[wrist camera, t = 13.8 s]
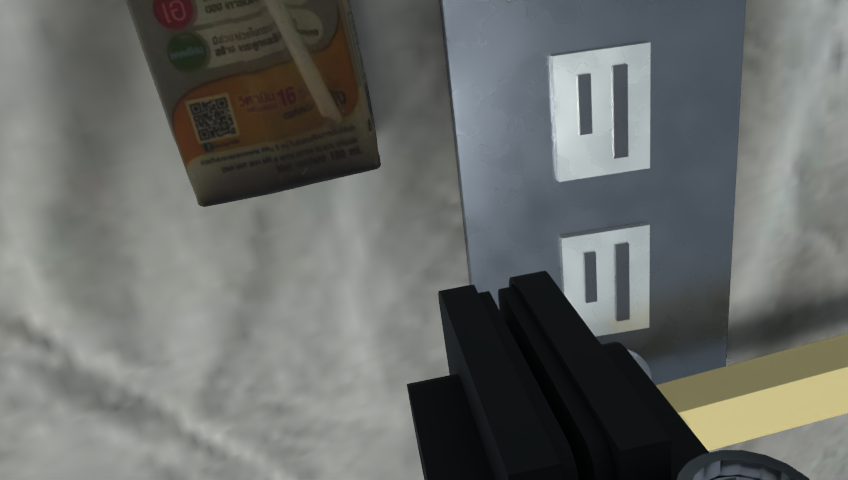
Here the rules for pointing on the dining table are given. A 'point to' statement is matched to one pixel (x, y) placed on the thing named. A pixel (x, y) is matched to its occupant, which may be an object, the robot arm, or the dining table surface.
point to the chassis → (604, 161)
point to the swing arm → (764, 393)
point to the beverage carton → (259, 92)
